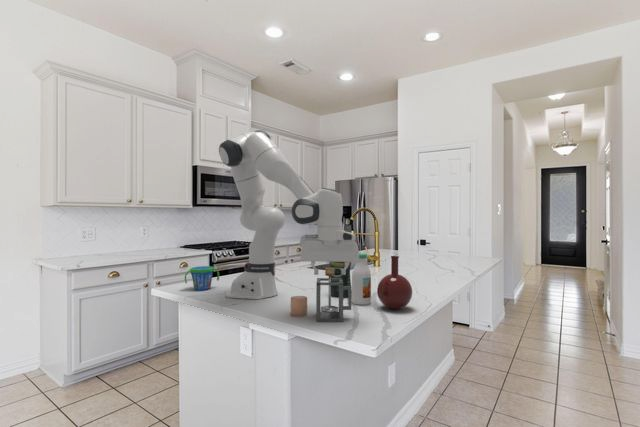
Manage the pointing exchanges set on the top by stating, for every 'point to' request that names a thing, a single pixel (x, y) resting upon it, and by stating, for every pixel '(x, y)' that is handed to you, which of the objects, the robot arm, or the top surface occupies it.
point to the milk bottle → (361, 282)
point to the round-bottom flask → (394, 288)
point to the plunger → (328, 308)
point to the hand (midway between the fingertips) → (329, 274)
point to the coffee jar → (337, 274)
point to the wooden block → (298, 306)
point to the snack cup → (202, 277)
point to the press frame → (337, 315)
